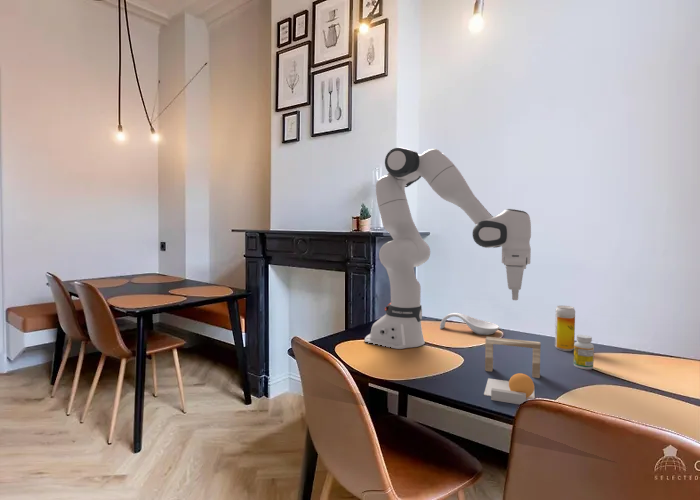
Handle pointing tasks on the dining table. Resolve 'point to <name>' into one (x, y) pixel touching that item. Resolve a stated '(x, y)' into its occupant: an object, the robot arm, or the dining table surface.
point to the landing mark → (500, 387)
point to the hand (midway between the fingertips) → (515, 299)
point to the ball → (521, 384)
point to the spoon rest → (473, 324)
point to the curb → (508, 396)
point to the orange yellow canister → (565, 328)
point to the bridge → (512, 342)
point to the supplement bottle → (583, 352)
